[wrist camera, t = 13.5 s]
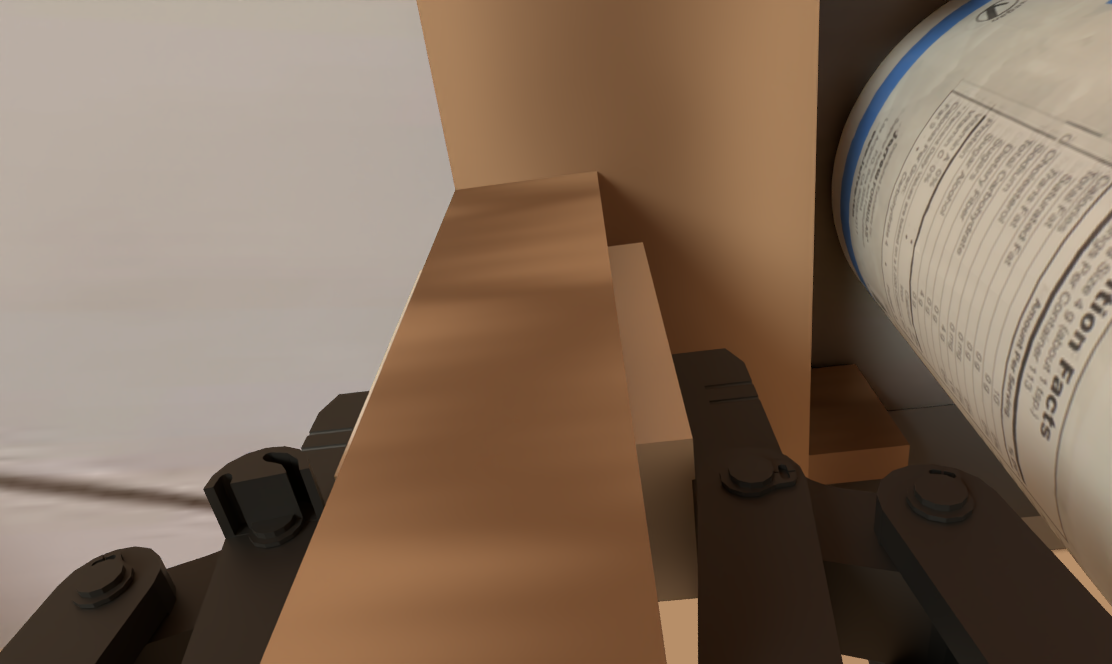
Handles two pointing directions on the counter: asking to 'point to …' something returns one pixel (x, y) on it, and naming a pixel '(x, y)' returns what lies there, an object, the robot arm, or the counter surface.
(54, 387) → the counter surface
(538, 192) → the wooden bracket
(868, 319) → the counter surface
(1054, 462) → the supplement tub
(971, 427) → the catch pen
